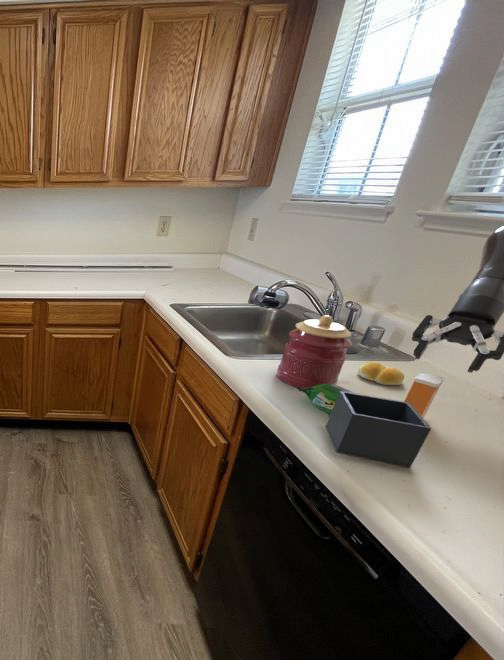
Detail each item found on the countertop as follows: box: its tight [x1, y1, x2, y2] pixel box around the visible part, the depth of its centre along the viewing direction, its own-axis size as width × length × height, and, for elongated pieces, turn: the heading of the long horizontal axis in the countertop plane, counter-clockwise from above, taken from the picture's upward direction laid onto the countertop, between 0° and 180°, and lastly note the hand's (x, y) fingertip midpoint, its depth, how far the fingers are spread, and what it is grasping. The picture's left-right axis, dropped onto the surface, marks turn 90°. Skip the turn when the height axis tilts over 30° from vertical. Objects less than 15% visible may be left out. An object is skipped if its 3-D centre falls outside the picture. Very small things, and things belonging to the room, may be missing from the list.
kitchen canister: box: [276, 314, 353, 389], centre depth 104 cm, size 13×13×18 cm
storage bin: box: [325, 391, 432, 469], centre depth 81 cm, size 11×10×9 cm
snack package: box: [298, 384, 357, 415], centre depth 93 cm, size 7×16×5 cm, turn 21°
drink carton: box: [403, 371, 445, 419], centre depth 90 cm, size 4×5×10 cm
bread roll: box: [357, 361, 405, 386], centre depth 109 cm, size 8×9×4 cm
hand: (442, 363), depth 90 cm, fingers open, 8 cm apart
